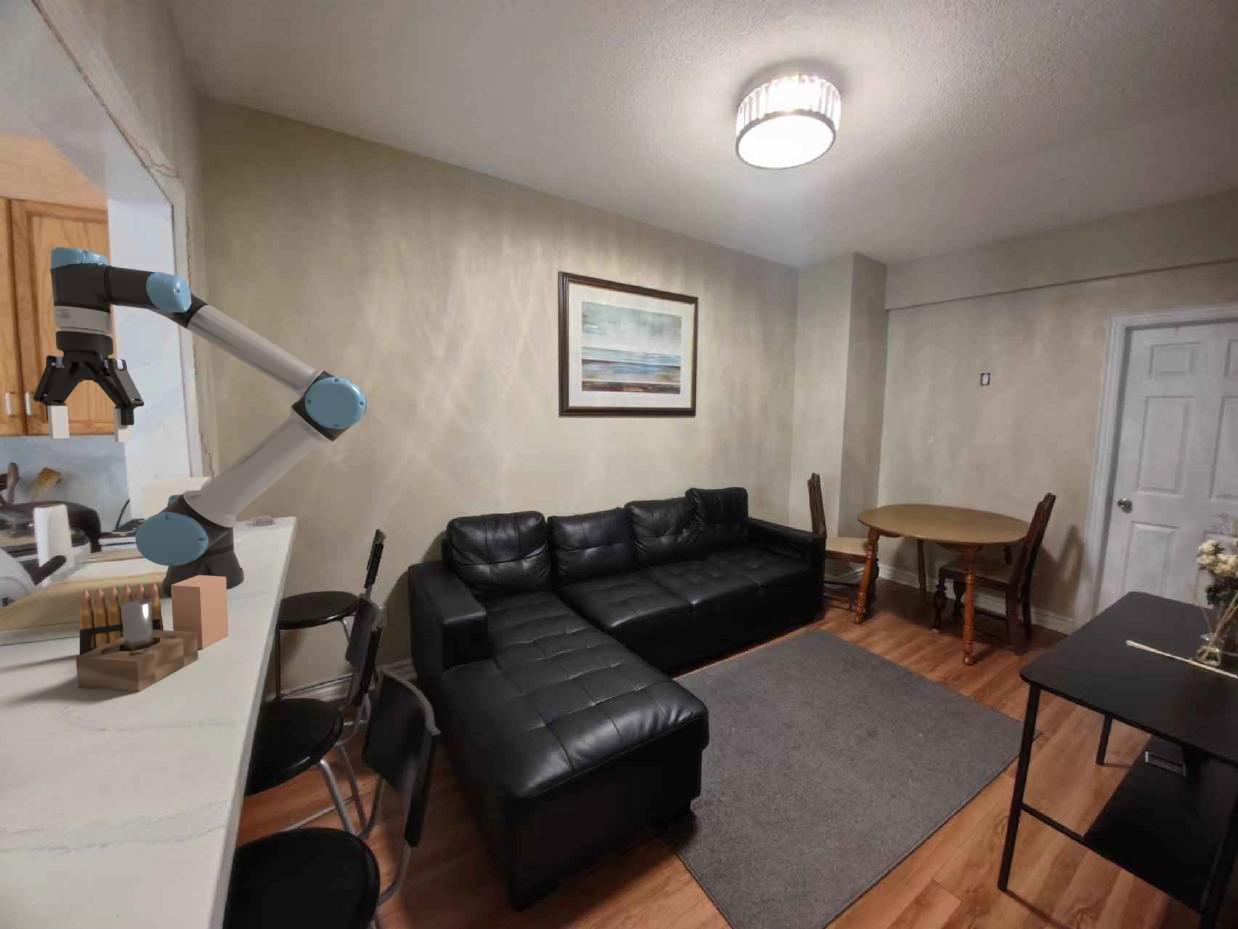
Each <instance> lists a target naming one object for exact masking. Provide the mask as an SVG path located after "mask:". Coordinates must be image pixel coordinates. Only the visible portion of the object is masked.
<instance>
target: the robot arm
mask: <svg viewBox="0 0 1238 929" xmlns="http://www.w3.org/2000/svg"><path fill="white" fill-rule="evenodd" d="M49 274H50V279H51V289H52V298H53V299H52V300H53V302H52V303H53V312H54V326H55V327H56V328H57V329H59V330H57V331H56V332H55V343H56V347H55V348H56V350H59V351H60V352H62V353H63V354H62V356H59V355H52V354H51V355H46V357H45V368H44V370H43V372H42V375H41V377H40V380H39V383H38V385H37V387H36V390H35V392H34V395H33V401H34V402H37V403H38V402H39V403H42V404H43V405H44V406H45V415H46V416H45V417H46V420H47V422H48V432H49V434H48V435H49V439H70V438H71V437H70V425H69V424H70V423H69V415H68V414H69V412H68V409H69V408H68V406H67V403H65V402H66V400H67V399H68V397H70V395H71V394H72V392H73V391H74V390H75V389H76V387H77V386H78V384H79V383H82V382H83V381H92V382H93V383H96V384H97V385H98V386H99V387H100V388H101V389H102V391H103V392H104V393H105V394H106V395H107V396H108V398H109V399H110V401H111V402H112V403H113V404H114V405H115V406H114V407H113V409H112V415H113V427H114V428H113V430H114V442H115V443H125V442H134V432H133V431H134V430H133V426H134V424H135V413H134V412H135V411H134V410H135V409H136V408H139V407H144V406H145V402H144V400H143V397H142V396H141V394H140V392H139V390H138V388H137V386H136V384H135V382H134V380H133V378H132V377H131V375H130V373H129V371H128V365H127V361H126V360H125V359H122V358H121V359H120V358H111V357H110V356H111V355H113V354H114V339H113V338H112V337H111V336H109V335H111V334H113V321H112V320H113V319H112V309H111V308H112V306H117V307H128V308H137V309H145V310H148V311H151V312H153V313H156V314H158V315H161V316H163V317H164V318H167V319H169V320H171V321H172V322H174V323H175V324H177V325H178V326H181V327H182V328H184V329H186V330H188V331H190V332H191V333H193V334H194V335H196V336H198V337H200V338H202V339H204V340H205V341H207V342H208V343H211V344H212V345H213V346H215V347H217V348H219V349H220V350H222V351H224V352H226V353H227V354H229V355H231V356H233V357H234V358H235V359H238V360H239V361H241V362H242V363H244V364H245V365H247V366H249V367H251V368H252V369H254V370H256V371H258V372H260V373H261V374H263V375H265V376H266V377H268V378H269V379H272V380H274V381H275V382H277V383H279V384H280V385H281V386H284V387H285V388H287V389H289V390H290V391H292V392H294V393H295V394H297V395H298V397H299V399H297V401H295V402H294V403H292V405H290V406H289V408H290V409H289V411H290V412H289V417H287V418H286V419H284V421H282V422H281V423H280V424H278V425H277V426H276V427H275V428H274V429H272V430H271V431H270V432H269V433H268V434H267V435H266V436H265V435H264V437H262V438H261V439H260V440H259V441H258V442H257V443H255V444H254V445H253V446H252V447H250V449H248V450H247V451H246V452H244V453H243V454H242V455H241V456H240V457H239V458H237V459H236V460H234V462H232V463H231V464H230V465H229V466H227V468H225V469H223V471H222V472H220V473H219V474H217V475H216V476H215V477H214V478H213V479H212V480H210V481H209V482H208V483H207V484H205V485H204V486H203V487H202V488H201V489H199V490H194V489H193V490H186V491H185V492H183V493H182V494H181V493H180V494H173V495H170V496H169V497H168V500H167V501H168V502H167V503H166V504H167V506H166V507H164V509H162V510H161V511H159V512H158V513H155V514H154V515H151V516H149V517H147V519H145V520H144V521H143V522H142V524H141V525H139V527H138V529H137V531H136V533H135V538H134V540H135V545H136V548H137V550H138V552H139V553H140V554H141V555H142V557H144V558H145V559H146V560H148V561H150V562H152V563H154V564H157V565H160V566H164V567H165V566H166V567H167V569H166V573H165V578H163V580H162V584H161V586H162V588H161V589H162V593H163V594H164V595H166V596H171V585H173V584H176V583H178V582H181V581H184V580H187V579H189V578H192V577H195V576H198V575H205V576H221V577H226V587H227V590H228V589H231V588H233V587H236V586H238V585H240V584H241V583H243V582H244V580H245V576H244V574H245V572H244V569H243V568H242V567H241V565H240V563H239V559H238V557H237V554H236V553H235V544H234V543H235V541H234V535H235V534H234V527H235V526H236V525H237V515H238V514H239V513H241V512H242V511H243V510H244V509H245V508H247V507H248V506H249V505H250V504H251V503H252V502H253V501H255V500H256V499H257V498H258V497H259V496H261V495H262V494H263V493H264V492H265V491H266V490H267V489H270V487H271V486H273V484H274V483H276V482H277V481H278V480H279V479H281V478H282V477H283V476H284V475H286V473H287V472H289V471H290V470H292V468H293V467H295V466H296V465H297V464H298V463H300V462H301V461H302V460H303V459H304V458H305V457H306V456H307V455H309V454H310V453H311V452H312V451H313V450H314V449H316V448H317V447H318V446H319V445H321V444H322V443H333V442H334V441H336V440H337V439H338V438H340V436H341V435H343V434H344V433H345V432H346V431H347V430H349V429H350V428H351V427H352V426H354V425H355V424H357V423H358V422H359V421H360V420H361V419H362V418H363V416H364V415H365V413H366V410H367V407H368V406H367V405H368V404H367V398H366V395H365V393H364V392H363V390H362V389H361V388H360V387H359V386H358V385H357V384H355V383H354V382H353V381H351V380H349V379H346V378H343V377H336V376H334V374H331V373H329V371H326V370H325V369H320V370H319V369H316V368H314V367H312V366H310V365H308V364H307V363H305V362H304V361H303V360H300V359H299V358H298V357H296V356H294V355H292V354H291V353H289V352H288V351H286V350H285V349H283V348H281V347H280V346H278V345H276V344H275V343H272V342H271V341H270V340H268V339H267V338H264V337H263V336H261V335H259V334H258V333H257V332H255V331H253V330H252V329H250V328H249V327H246V326H245V325H244V324H242V323H240V322H239V321H237V320H235V319H234V318H232V317H230V316H229V315H227V314H225V313H224V312H222V311H220V310H219V309H217V308H215V307H214V306H213V305H212V304H209V303H207V302H206V301H205V300H202V299H201V298H199V297H198V296H197V295H195V294H194V293H193V292H191V291H190V286H189V284H188V283H187V280H186V279H185V278H183V277H182V276H180V275H177V274H170V273H166V272H163V271H158V272H156V271H152V270H151V271H149V270H141V269H133V268H126V267H120V266H119V267H118V266H113V265H110V264H109V260H108V258H106V256H104V255H103V254H100V253H97V252H93V251H89V250H84V249H79V248H74V247H67V246H65V247H63V246H58V247H55V248H52V250H51V251H50V268H49Z"/></svg>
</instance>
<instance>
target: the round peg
mask: <svg viewBox="0 0 1238 929" xmlns="http://www.w3.org/2000/svg"><path fill="white" fill-rule="evenodd" d="M132 601H133V602H129V603H126V604H124V605H121V616H122V617H123V632H124V647H125V651H129V652H131V651H136V650H140V649H145V648H149V647H151V646H153V645H154V640H153V624H152V607H151V601H150V600H149V599H146V600H138V601H136V600H132Z"/></svg>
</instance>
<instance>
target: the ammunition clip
mask: <svg viewBox="0 0 1238 929" xmlns="http://www.w3.org/2000/svg"><path fill="white" fill-rule="evenodd" d="M118 594H119V593H118V591H117V589H116V587H115V586H111V588H110V589H109V595H108V608H107V606H106V605H107V604H106V600H105V594H104V592H103V590H102V589H101V587H98V588H97V590H96V592H95V594H94V595H95V596H94V610H93V607H92V600H91V595H90V594H89V592H88V590H87V589H83V591H82V592H81V596H80V610H79V627H80V629H79V656H80V655H83V654H85V653H87V652H90V651H92V650H94V649H97V648H99V647H101V646H104V645H106V644H108V643H111V642H113V641H115V640H118V639H120V638H122V637H124V632H123V617H122V607H121V606H122V605H124V604H126V603H129V602H133V601H134V600H133V596H132V591H131V588H130V586H129V585H127V584H126V585H124V588H123V591H122V603H121V604H122V605H121V606H120V599H119V595H118ZM135 594H136V595H135V598H136V599H135V601H138V600H147V598H146V591H145V588H144V586H143V584H142V583H139V584H138V586H137V588H136V593H135ZM148 600H150V601H151V607H152V624H153V629H154V630H165V629H164V622H163V615H162V605H161V601H160V595H159V589H158V586H157V584H156V583H155V582H154V581H153V582H152V583H151V585H150V589H149V599H148Z"/></svg>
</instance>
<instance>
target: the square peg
mask: <svg viewBox="0 0 1238 929" xmlns="http://www.w3.org/2000/svg"><path fill="white" fill-rule="evenodd" d="M227 590H228V589H227V587H226V577H221V576H205V575H198V576H195V577H192V578H189V579H187V580H184V581H181V582H178V583H176V584H173V585H171V595H170V597H171V611H172V612H171V613H172V614H171V615H172V631H184V632H197V645H198V650H205V649H206V648H208V647H211V646H212V645H214V644H216V643H218V642H220V641H222V640H223V639H225V638H226V637H228V636H229V620H228V619H229V618H228V617H229V615H228V614H229V612H228V592H227ZM217 641H218V642H217Z"/></svg>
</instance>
